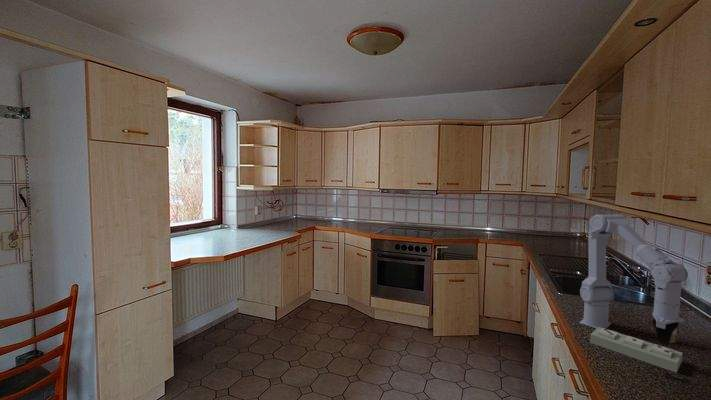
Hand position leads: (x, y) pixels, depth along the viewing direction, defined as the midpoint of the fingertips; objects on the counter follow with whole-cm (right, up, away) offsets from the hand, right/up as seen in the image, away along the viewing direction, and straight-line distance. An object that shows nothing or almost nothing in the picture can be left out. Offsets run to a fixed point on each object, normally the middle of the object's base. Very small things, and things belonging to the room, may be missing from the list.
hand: (663, 343), depth 103 cm
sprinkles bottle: (+14, -5, +13) cm, 20 cm away
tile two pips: (0, -4, 0) cm, 4 cm away
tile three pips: (-9, -3, +11) cm, 15 cm away
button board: (-4, -5, +6) cm, 9 cm away
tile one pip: (-4, -3, +6) cm, 8 cm away
